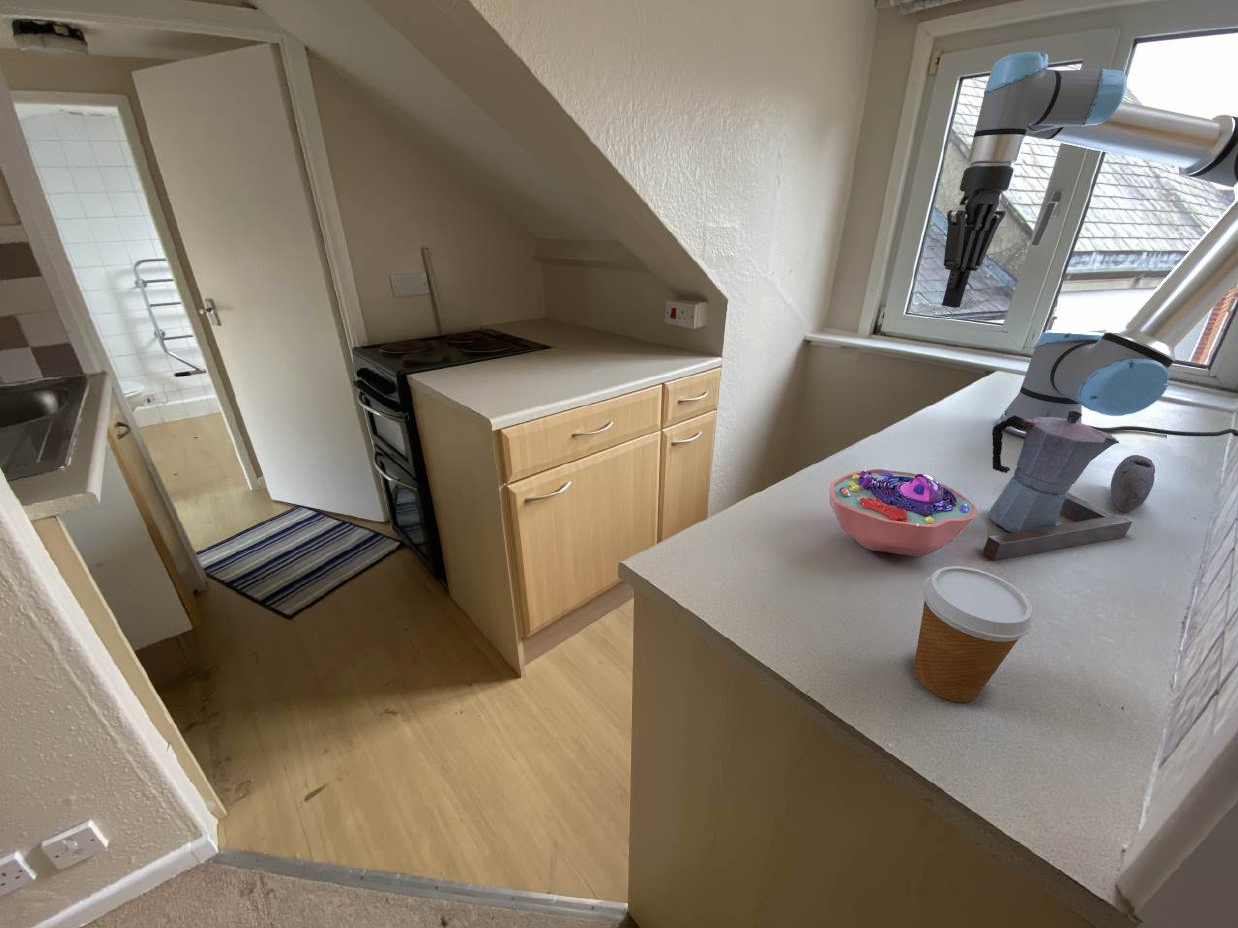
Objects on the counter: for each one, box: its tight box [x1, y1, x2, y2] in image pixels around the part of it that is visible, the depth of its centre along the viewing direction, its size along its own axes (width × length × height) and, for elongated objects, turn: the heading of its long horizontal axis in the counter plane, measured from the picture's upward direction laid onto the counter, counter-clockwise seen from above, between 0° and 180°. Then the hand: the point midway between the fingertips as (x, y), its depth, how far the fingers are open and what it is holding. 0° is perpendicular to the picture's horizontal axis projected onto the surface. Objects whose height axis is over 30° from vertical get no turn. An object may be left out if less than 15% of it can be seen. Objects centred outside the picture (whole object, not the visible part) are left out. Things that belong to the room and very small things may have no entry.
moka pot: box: [987, 411, 1120, 533], centre depth 82 cm, size 10×15×20 cm, turn 72°
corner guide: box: [981, 492, 1133, 562], centre depth 87 cm, size 26×17×3 cm, turn 105°
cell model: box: [828, 468, 978, 557], centre depth 79 cm, size 17×20×11 cm
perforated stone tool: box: [1110, 454, 1156, 513], centre depth 92 cm, size 15×5×7 cm, turn 135°
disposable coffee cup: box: [913, 565, 1034, 703], centre depth 55 cm, size 10×10×12 cm
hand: (950, 306), depth 102 cm, fingers closed
